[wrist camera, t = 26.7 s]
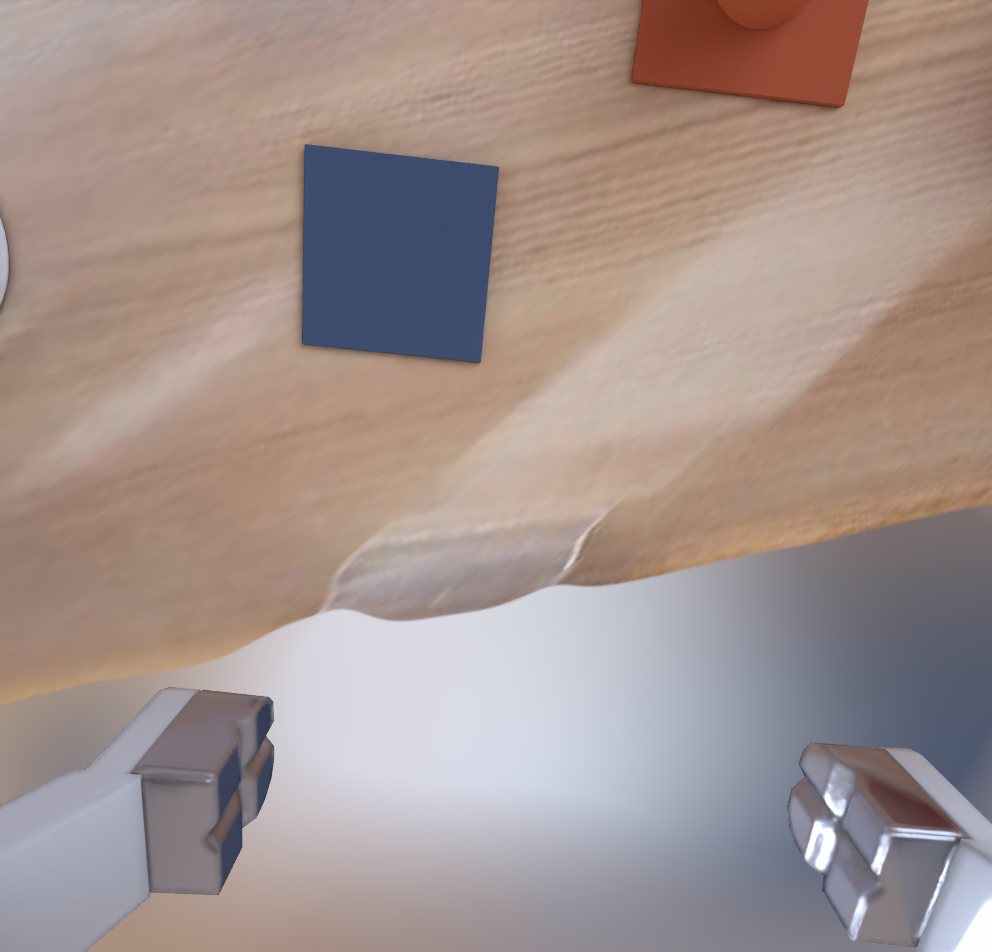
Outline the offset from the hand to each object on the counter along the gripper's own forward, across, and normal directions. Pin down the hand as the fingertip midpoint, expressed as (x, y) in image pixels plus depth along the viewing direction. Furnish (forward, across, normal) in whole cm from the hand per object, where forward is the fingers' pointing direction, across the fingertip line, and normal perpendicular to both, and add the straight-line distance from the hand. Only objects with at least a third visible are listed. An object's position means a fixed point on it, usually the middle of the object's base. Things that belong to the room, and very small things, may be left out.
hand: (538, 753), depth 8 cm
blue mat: (+31, +8, -10) cm, 34 cm away
